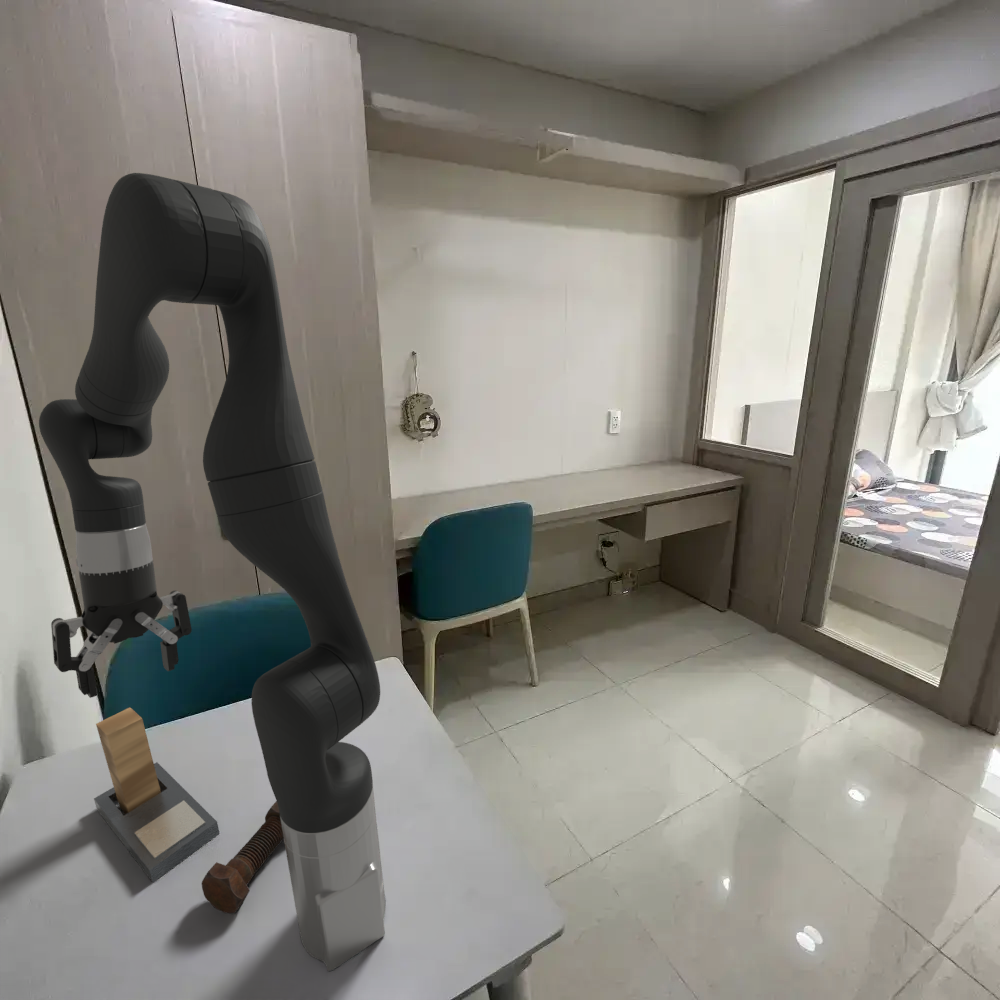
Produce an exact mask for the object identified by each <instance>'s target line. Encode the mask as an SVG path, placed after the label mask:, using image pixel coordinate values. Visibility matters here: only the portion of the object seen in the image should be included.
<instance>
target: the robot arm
mask: <svg viewBox="0 0 1000 1000" xmlns="http://www.w3.org/2000/svg"><path fill="white" fill-rule="evenodd" d="M270 245H271V244H270V241H269V238H268V236H267V233H266V229H265V227H264V225H263V223H262V221H261V218H260V217H259V215H258V214H257V212H256V210H255V209H254V208H253V206H252V205H250V203H248V202H246V200H244V199H243V198H240V197H238V196H236V195H234V194H231V193H227V192H224V191H220V190H217V189H213V188H210V187H206V186H201V185H197V184H194V183H193V184H192V183H190V182H185V181H181V180H178V179H173V178H169V177H168V178H167V177H166V176H165V177H164V176H160V175H155V174H152V173H151V174H150V173H149V174H148V173H142V172H133V173H129V174H126V175H123V176H121V177H120V178H119V179H118V180H117V181H116V182H115V184H114V186H113V187H112V189H111V191H110V194H109V196H108V199H107V202H106V206H105V210H104V215H103V220H102V226H101V234H100V242H99V254H98V265H97V272H96V273H97V275H96V285H95V286H96V287H95V301H94V314H93V315H94V316H93V328H92V329H93V330H92V336H91V340H90V343H89V347H88V350H87V353H86V355H85V358H84V360H83V363H82V366H81V368H80V371H79V373H78V376H77V379H76V382H75V388H74V394H75V398H76V399H74V398H73V399H71V398H70V399H69V398H67V399H63V398H62V399H61V398H60V399H55V400H52V401H50V402H48V403H47V404H46V405H45V406H44V407H43V409H42V411H41V412H40V415H39V418H38V419H39V420H38V428H39V432H40V435H41V437H42V439H43V442H44V444H45V446H46V448H47V449H48V451H49V453H50V455H51V456H52V458H53V460H54V462H55V464H56V465H57V468H58V470H59V472H60V475H61V476H62V478H63V480H64V483H65V486H66V489H67V491H68V494H69V497H70V498H69V499H70V503H71V508H72V516H73V522H74V529H75V555H76V558H75V564H76V566H77V568H78V569H77V570H78V576H79V582H80V588H81V596H82V603H83V611H82V614H81V615H80V616H77V617H72V618H67V619H63V618H61V617H57V618H54V619H53V620H52V622H51V624H50V626H51V627H50V628H51V637H52V638H51V639H52V640H51V641H52V652H53V653H52V654H53V662H54V663H53V664H54V665H55V666H56V668H57V669H58V670H59V672H61V673H66V672H68V671H73V672H74V671H75V673H76V679H77V687H78V690H79V691H80V692H81V693H82V694H83V695H84V696H88V697H89V698H90V699H91V698H94V697H98V691H97V690H98V689H97V683H96V677H95V671H94V668H93V667H92V666H93V664H94V663H95V662H96V660H97V659H98V657H99V656H100V655H101V654H103V652H104V651H105V650H106V648H107V646H108V645H109V643H113V644H119V643H121V642H124V641H125V640H128V639H134V638H139V637H142V636H144V635H145V633H147V632H148V631H151V632H152V633H154V635H157V637H159V638H161V639H162V641H160V643H159V644H160V650H161V660H162V665H163V666H162V667H163V668H164V669H165V670H166V671H167V672H170V671H173V670H175V666H176V665H177V664H178V663H179V660H180V659H179V654H178V653H179V652H178V645H177V644H178V641H179V639H181V638H182V637H184V636H188V635H191V633H192V630H193V629H192V623H191V619H190V613H189V612H190V611H189V608H188V601H187V597H186V595H185V594H183V593H182V592H180V591H178V590H172V591H170V593H169V594H167V595H163V596H159V595H158V592H157V591H158V589H157V584H156V576H155V567H154V565H155V564H154V559H153V550H152V549H153V548H152V542H151V537H150V532H149V529H148V527H147V521H146V512H145V505H144V502H145V501H144V495H143V489H142V487H141V484H140V482H139V481H138V480H136V479H134V478H130V477H123V476H111V475H110V476H109V475H103V474H102V475H101V474H99V473H97V472H96V471H95V470H94V469H93V468H92V466H91V465H90V462H89V461H90V460H103V459H104V460H105V459H106V460H107V459H119V458H120V459H121V458H131V457H135V456H138V455H141V454H142V453H145V451H147V450H148V449H149V447H150V446H151V444H152V441H153V429H152V415H153V414H152V413H153V408H154V407H155V404H156V402H157V400H158V399H159V396H160V395H161V393H162V392H163V389H164V388H165V386H166V383H167V381H168V378H169V373H170V361H169V355H168V351H167V350H166V347H165V344H164V343H163V341H162V339H161V337H160V336H159V335H158V333H157V331H156V329H155V327H154V326H153V324H152V323H151V320H150V319H149V316H150V313H151V312H152V311H153V309H154V308H155V307H156V306H157V305H158V304H159V303H160V302H162V301H167V302H169V303H170V302H172V303H180V304H193V305H209V306H210V305H211V306H218V308H219V312H220V314H221V317H222V321H223V324H224V325H223V326H224V328H225V334H226V341H227V342H226V343H227V350H228V365H227V366H228V367H227V373H226V379H225V381H224V385H223V387H222V388H223V389H222V392H221V394H220V398H219V400H218V403H217V404H216V408H215V410H214V414H213V415H212V419H211V422H210V425H209V429H208V432H207V435H206V438H205V443H204V447H203V453H202V464H203V471H204V476H205V479H206V481H207V486H208V490H209V492H210V496H211V500H212V503H213V506H214V509H215V514H216V517H217V520H218V523H219V526H220V529H221V531H222V533H223V535H224V537H226V539H227V541H228V542H229V543H230V544H231V545H232V547H234V549H235V550H236V551H237V552H238V553H240V555H242V556H243V557H244V558H245V559H247V560H248V562H250V563H251V564H252V565H254V566H255V567H256V568H257V569H259V570H260V571H261V572H263V573H264V574H265V575H267V576H268V577H269V578H270V579H271V580H273V581H274V582H275V583H277V585H279V586H280V587H281V588H282V589H283V590H284V592H286V593H287V594H288V595H289V596H290V597H291V599H292V600H293V601H294V603H295V604H296V606H297V607H298V609H299V611H300V613H301V616H302V619H303V620H304V622H305V625H306V628H307V631H308V635H309V641H310V647H308V648H306V649H305V650H303V651H302V652H300V653H298V654H296V655H294V656H292V657H291V658H289V659H287V660H285V661H283V662H281V663H280V664H278V665H277V666H274V667H273V668H271V669H269V670H267V671H266V672H265V673H263V674H262V675H260V676H259V677H258V678H257V679H256V681H255V682H254V684H253V687H252V690H251V691H252V692H251V710H252V716H253V720H254V726H255V729H256V733H257V737H258V741H259V744H260V747H261V751H262V752H261V753H262V756H263V757H262V758H263V761H264V764H265V770H266V775H267V778H268V782H269V786H270V788H271V789H272V792H273V794H274V795H273V796H274V797H275V801H277V803H278V808H279V814H280V819H281V824H282V830H283V837H284V839H283V841H284V842H283V843H284V847H285V853H286V859H287V865H288V871H289V877H290V882H291V888H292V889H291V890H292V895H293V901H294V906H295V912H296V916H297V917H296V918H297V923H298V929H299V934H300V940H301V943H302V945H303V947H304V949H305V950H306V952H307V953H308V954H309V955H310V956H312V957H313V958H314V959H316V960H319V961H321V962H323V963H324V964H325V965H326V969H327V971H328V972H331V971H333V970H334V969H337V967H340V966H341V965H342V964H344V963H345V962H347V961H349V960H350V959H351V958H352V957H354V956H356V955H358V954H359V953H360V952H362V951H363V950H364V949H367V947H369V946H371V945H372V944H374V943H375V942H377V941H378V940H380V939H381V938H383V937H384V936H385V934H386V930H385V921H384V919H385V915H386V895H385V884H384V876H383V868H382V867H383V866H382V859H381V849H380V839H379V831H378V830H379V829H378V823H377V813H376V802H375V800H376V799H375V793H374V784H373V783H374V782H373V772H372V766H371V761H370V760H369V759H370V758H369V757H368V756H367V754H366V752H364V751H363V750H362V749H361V748H360V747H358V746H357V745H355V744H351V743H348V742H344V741H341V740H343V739H344V738H345V737H347V736H348V735H350V733H351V732H353V731H354V730H355V729H356V728H358V727H360V726H361V725H362V724H363V723H364V722H366V721H367V720H368V719H369V718H370V717H371V716H372V714H374V712H376V710H377V708H378V706H379V704H380V699H381V683H380V677H379V673H378V669H377V665H376V661H375V658H374V655H373V652H372V650H371V647H370V644H369V641H368V638H367V636H366V633H365V631H364V627H363V626H362V622H361V620H360V619H361V618H359V614H358V611H357V610H356V606H355V604H354V601H353V598H352V595H351V593H350V590H349V589H350V588H349V586H348V584H347V580H346V577H345V574H344V570H343V567H342V562H341V559H340V556H339V553H338V548H337V546H336V541H335V538H334V534H333V530H332V526H331V522H330V518H329V513H328V508H327V505H326V504H327V503H326V500H325V499H326V498H325V495H324V491H323V487H322V483H321V482H322V481H321V479H320V475H319V471H318V467H317V463H316V460H315V456H314V453H313V449H312V445H311V442H310V439H309V436H308V433H307V429H306V425H305V421H304V415H303V413H302V409H301V405H300V401H299V395H298V392H297V388H296V383H295V379H294V375H293V371H292V365H291V360H290V355H289V351H288V344H287V339H286V333H285V332H286V331H285V326H284V320H283V318H284V317H283V313H282V312H283V311H282V306H281V299H280V294H279V287H278V281H277V275H276V270H275V264H274V259H273V258H274V257H273V255H272V249H271V246H270ZM163 606H165V607H166V608H167V609H168V610H169V611H171V612H172V616H173V623H174V627H172V628H171V629H167V628H166V627H165V626H163V625H162V624H160V623H159V622H158V621H157V620H156V618H157V617H158V615H159V614H160V612H161V610H162V608H163ZM81 627H84V629H87V630H88V631H89V632H90V633H89V634H88V636H87V637H86V639H85V640H84V642H83V645H82V648H81V649H80V650H79V651H78V653H77V655H76V656H72V650H71V649H72V648H71V638H74V637H75V636H76V635H77V632H78V630H79V629H80V628H81Z"/></svg>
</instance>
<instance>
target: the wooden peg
mask: <svg viewBox="0 0 1000 1000" xmlns="http://www.w3.org/2000/svg"><path fill="white" fill-rule="evenodd" d="M95 725H96V730H97V733H98V736H99V739H100V743H101V746H102V750H103V753H104V757H105V761H106V764H107V768H108V771H109V775H110V778H111V781H112V785H113V787H114V789H115V793H116V796H117V800H118V803H119V804H118V807H119V808H120V809H121V810H122V811H121V812H122V813H123V814H124V815H126V814H127V813H129V812H131V811H132V810H134V809H135V808H137V807H139V806H140V805H142V804H143V803H145V802H147V801H148V800H150V799H151V798H153V797H155V796H156V795H158V794H160V793H161V792H162V790H161V789H160V787H159V783H158V779H157V775H156V771H155V767H154V764H155V763H154V760H153V756H152V751H151V748H150V744H149V739H148V736H147V731H146V728H145V725H144V720H143V718H142V716H140V715H139V714H138V713H137V712H136V711H135V710H134V709H133V708H131V707H127V708H125V709H123V710H122V711H120V712H118V713H116V714H114V715H111V716H109V717H107V718H105V719H103V720H101V721H99V722H97V723H95Z"/></svg>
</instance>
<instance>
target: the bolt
mask: <svg viewBox="0 0 1000 1000" xmlns="http://www.w3.org/2000/svg"><path fill="white" fill-rule="evenodd" d="M264 820H265V822H264V823H263V824H262V825H261V826H260V827H259V828H258V829H257V831H256V832H255V833H254V834H253V835H252V836H251V837H250V838H249V840H248V841H247V842H246V843H245V844H244V845H243V846H242V847H241V849H240V850H239V851H238V852H237V853H236V854H235V855H234V856H233V858H231V859H230V860H228V862H227V864H222V863H220V862H215V863H214V864H213V865H212V866H211V868H210V869H208V871H207V873H206V874H205V875H204V877H203V879H202V881H201V889H202V893H203V896H204V897H205V899H206V901H207V902H209V904H211V905H212V907H214V908H215V909H216V910H218V911H219V912H222V913H225V914H235V913H236V912H237V911H238V910H239V909H240V907H241V906H242V905H243V904H244V902H245V900H246V898H247V896H248V895H249V893H250V888H249V886H248V884H249V883H250V882H251V880H252V878H253V877H254V876H255V874H256V873H257V872H258V871H259V869H260V868H261V867H262V866H263V865H264V864H265V862H266V861H267V860H268V859H269V857H270V856H271V855H272V854H273V852H274V851H275V850H276V849H277V847H278V846H279V845H280V844H281V842H282V841H284V837H283V830H282V824H281V819H280V814H279V808H278V803H277V800H275V802H274V803H273V804H272V805H271V806H270V808H269V810H268V811H267V812H266V814H265V816H264Z"/></svg>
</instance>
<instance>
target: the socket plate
mask: <svg viewBox="0 0 1000 1000" xmlns="http://www.w3.org/2000/svg"><path fill="white" fill-rule="evenodd" d="M154 767H155V771H156V775H157V779H158V783H159V787H160V791H161V793H160V794H158V795H156V796H155V797H153V798H151V799H150V800H148V801H147V802H145V803H143V804H142V805H140V806H139V807H137V808H135V809H134V810H132V811H131V812H129V813H127V814H124V813H123V812H122V811H121V810H120V809H119V808H118V805H119V803H118V800H117V796H116V793H115V789H114V786H113V787H111V788H110V789H108V790H106V791H104V792H103V793H101V794H99V795H97V796H96V797H94V798H93V801H94V804H95V808H96V810H97V812H98V813H99V814H100V816H101V817H102V818H103V820H104V821H105V822H106V823H107V825H108V826H109V827H110V829H111V830H112V831H113V833H114V834H115V835H116V837H117V838H118V839H119V840H120V842H121V843H122V845H123V846H124V847H125V848H126V850H127V851H128V852H129V854H130V855H131V856H132V858H133V859H134V860H135V862H136V863H137V864H138V865H139V867H140V868H141V869H142V871H143V872H144V873H145V875H146V876H147V877H148V878H149V879H150V882H151V883H155V882H156V881H158V879H160V878H162V877H163V876H164V875H166V874H167V873H168V872H170V871H171V870H172V869H174V868H175V867H177V866H178V865H179V864H181V863H182V862H183V861H184V860H186V859H187V858H188V857H190V856H191V855H193V854H194V853H195V852H196V851H198V850H199V849H201V848H202V847H203V846H205V845H206V844H207V843H210V841H212V840H213V839H214V838H215V837H217V836H218V835H220V834H221V833H220V828H219V824H218V820H216V819H215V818H214V817H213V816H212V815H211V814H210V813H209V812H208V811H207V810H206V809H205V808H204V807H203V806H202V805H201V804H200V803H199V802H198V801H197V800H196V799H195V798H194V797H193V796H192V795H191V794H190V793H189V792H188V791H187V790H186V789H185V788H184V787H183V786H182V785H181V784H180V783H179V782H178V781H177V780H176V779H174V777H173V776H172V775H171V774H170V773H169V772H168V771H167V770H166V769H165V768H164V767H163V766H162V765H161V764H159V762H158V761H156V762H155V763H154Z"/></svg>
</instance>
